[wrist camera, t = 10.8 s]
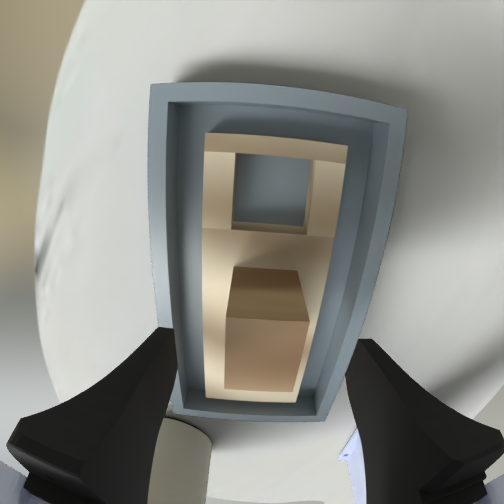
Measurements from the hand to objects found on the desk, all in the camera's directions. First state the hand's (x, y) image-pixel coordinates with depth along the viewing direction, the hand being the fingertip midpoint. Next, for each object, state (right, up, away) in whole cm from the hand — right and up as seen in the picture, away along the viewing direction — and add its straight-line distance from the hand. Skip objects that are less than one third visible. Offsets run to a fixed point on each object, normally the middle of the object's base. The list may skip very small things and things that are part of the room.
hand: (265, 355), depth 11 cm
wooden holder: (0, +2, +5) cm, 5 cm away
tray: (0, +2, +5) cm, 6 cm away
